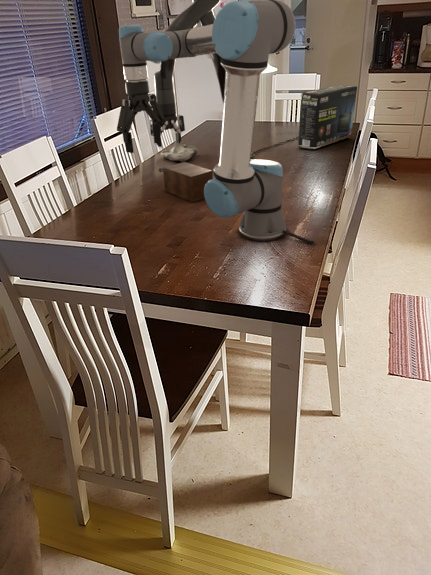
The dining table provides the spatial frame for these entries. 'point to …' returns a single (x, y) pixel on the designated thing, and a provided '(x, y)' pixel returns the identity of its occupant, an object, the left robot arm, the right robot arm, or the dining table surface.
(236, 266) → the dining table surface
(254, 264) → the dining table surface
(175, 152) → the fossil
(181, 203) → the dining table surface
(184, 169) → the dark wooden box
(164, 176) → the dark piece
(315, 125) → the router box
